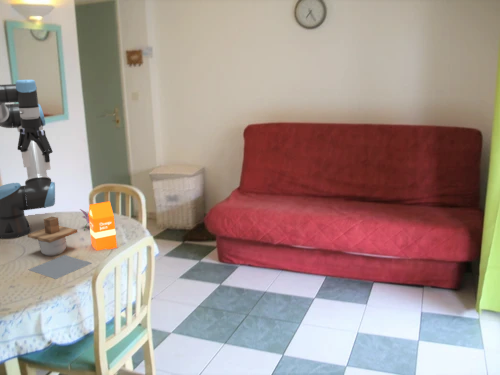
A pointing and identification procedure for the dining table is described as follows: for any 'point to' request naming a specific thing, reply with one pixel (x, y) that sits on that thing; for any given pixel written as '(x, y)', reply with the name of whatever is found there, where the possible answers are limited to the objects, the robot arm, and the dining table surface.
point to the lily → (85, 217)
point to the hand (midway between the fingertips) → (37, 168)
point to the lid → (51, 231)
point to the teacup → (53, 247)
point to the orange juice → (102, 226)
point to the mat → (60, 266)
